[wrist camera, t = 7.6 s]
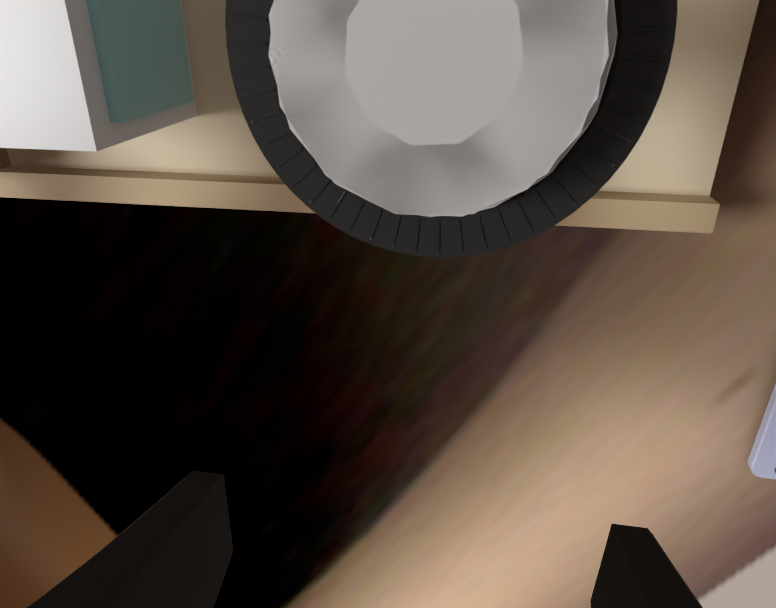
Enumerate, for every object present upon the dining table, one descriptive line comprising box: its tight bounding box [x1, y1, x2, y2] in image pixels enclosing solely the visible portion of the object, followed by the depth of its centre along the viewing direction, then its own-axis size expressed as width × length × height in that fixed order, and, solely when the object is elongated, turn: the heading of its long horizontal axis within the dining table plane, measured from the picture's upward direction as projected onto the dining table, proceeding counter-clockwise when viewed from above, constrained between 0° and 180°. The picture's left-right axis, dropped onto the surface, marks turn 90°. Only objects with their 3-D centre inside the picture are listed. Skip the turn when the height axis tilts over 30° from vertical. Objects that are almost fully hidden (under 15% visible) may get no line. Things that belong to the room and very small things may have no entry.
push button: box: [225, 0, 677, 257], centre depth 11 cm, size 7×5×10 cm
